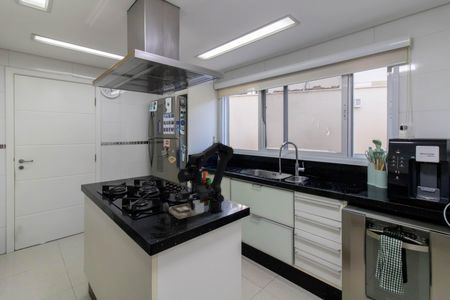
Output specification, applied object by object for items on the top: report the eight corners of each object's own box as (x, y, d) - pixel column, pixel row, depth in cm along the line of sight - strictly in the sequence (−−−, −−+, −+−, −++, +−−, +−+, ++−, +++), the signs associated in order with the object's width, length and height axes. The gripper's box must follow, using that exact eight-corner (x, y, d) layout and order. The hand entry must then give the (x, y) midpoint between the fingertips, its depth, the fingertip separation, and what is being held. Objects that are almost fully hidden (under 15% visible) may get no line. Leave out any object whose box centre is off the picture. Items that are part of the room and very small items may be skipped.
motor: (194, 204, 143) (193, 173, 141) (198, 200, 151) (198, 170, 150) (209, 205, 140) (209, 173, 139) (213, 201, 149) (213, 171, 148)
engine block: (198, 208, 122) (198, 199, 121) (204, 212, 117) (204, 202, 117) (190, 210, 119) (189, 201, 118) (195, 213, 114) (195, 204, 114)
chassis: (190, 205, 141) (190, 197, 141) (204, 212, 127) (204, 204, 127) (163, 210, 131) (162, 202, 131) (175, 219, 117) (175, 210, 117)
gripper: (187, 184, 105) (187, 217, 106) (220, 179, 116) (220, 210, 117) (177, 180, 114) (177, 211, 115) (208, 176, 125) (209, 204, 126)
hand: (196, 209), depth 118 cm, fingers closed on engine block, 5 cm apart
